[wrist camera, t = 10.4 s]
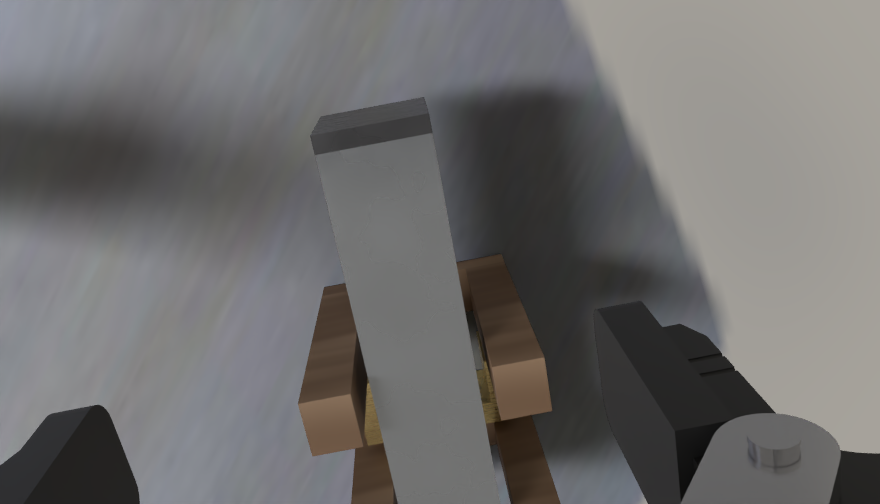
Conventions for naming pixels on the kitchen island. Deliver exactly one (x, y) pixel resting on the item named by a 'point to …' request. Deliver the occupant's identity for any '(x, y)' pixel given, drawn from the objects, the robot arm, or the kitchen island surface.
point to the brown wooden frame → (510, 368)
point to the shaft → (407, 300)
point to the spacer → (486, 394)
